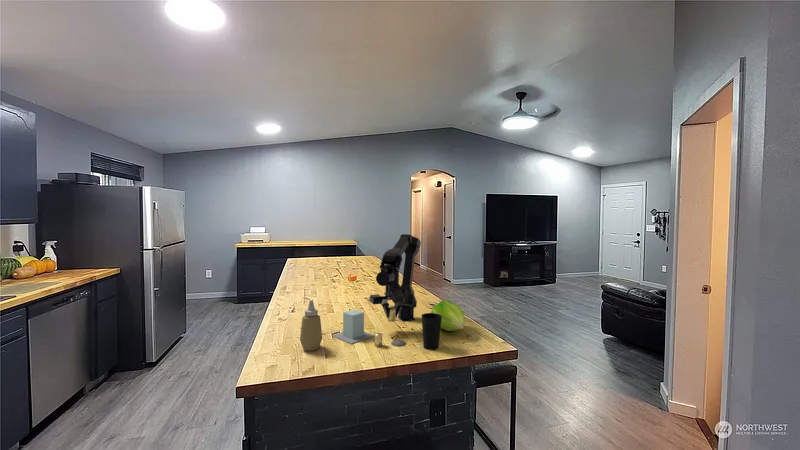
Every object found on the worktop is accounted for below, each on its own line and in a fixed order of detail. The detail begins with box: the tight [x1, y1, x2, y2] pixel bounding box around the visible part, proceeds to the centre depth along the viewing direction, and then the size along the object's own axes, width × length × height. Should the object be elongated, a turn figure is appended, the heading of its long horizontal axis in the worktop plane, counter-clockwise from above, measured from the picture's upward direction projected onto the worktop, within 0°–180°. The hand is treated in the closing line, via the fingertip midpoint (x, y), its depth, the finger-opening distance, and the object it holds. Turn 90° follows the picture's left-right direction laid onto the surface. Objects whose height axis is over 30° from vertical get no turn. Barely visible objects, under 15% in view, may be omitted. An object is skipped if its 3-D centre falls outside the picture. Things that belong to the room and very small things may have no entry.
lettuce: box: [430, 299, 465, 332], centre depth 148 cm, size 14×20×12 cm
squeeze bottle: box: [299, 299, 323, 352], centre depth 128 cm, size 8×8×18 cm
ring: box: [390, 339, 407, 347], centre depth 134 cm, size 6×6×1 cm
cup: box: [420, 312, 442, 351], centre depth 130 cm, size 8×8×12 cm
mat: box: [332, 331, 374, 345], centre depth 141 cm, size 12×12×1 cm
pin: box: [373, 332, 383, 348], centre depth 131 cm, size 3×3×4 cm
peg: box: [387, 305, 397, 323], centre depth 147 cm, size 3×3×6 cm
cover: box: [342, 309, 365, 339], centre depth 141 cm, size 6×6×10 cm
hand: (391, 317), depth 147 cm, fingers closed on peg, 3 cm apart
